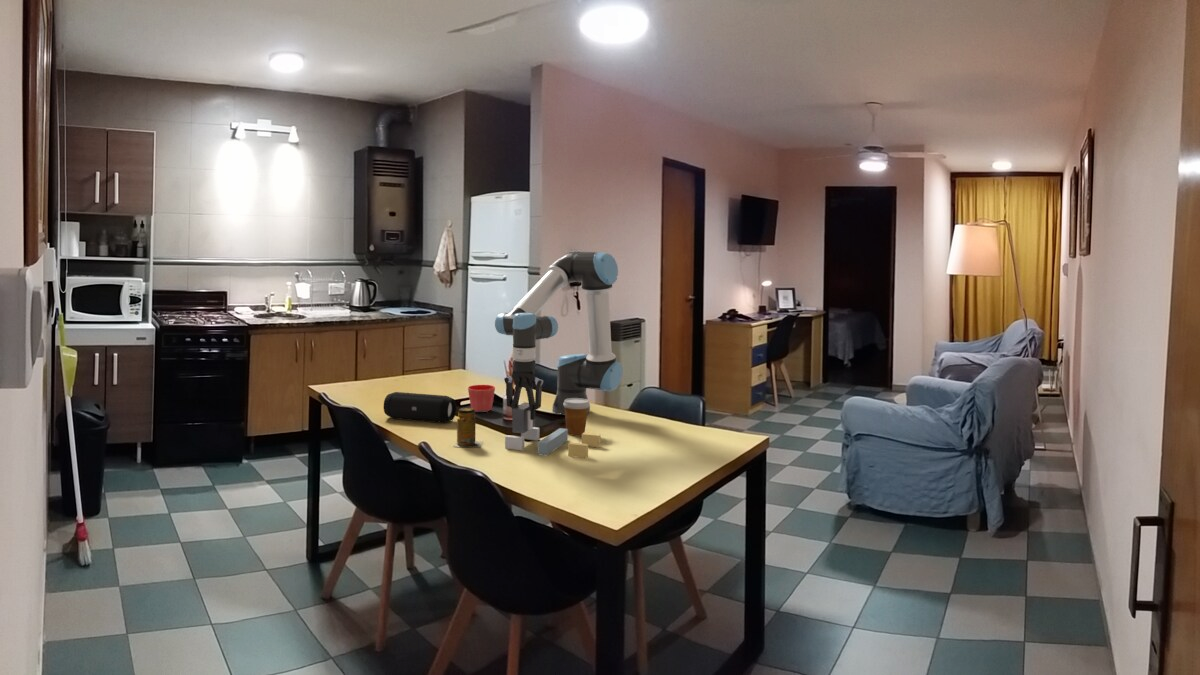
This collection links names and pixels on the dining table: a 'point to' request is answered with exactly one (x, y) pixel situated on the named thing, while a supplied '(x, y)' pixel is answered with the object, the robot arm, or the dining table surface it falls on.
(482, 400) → the flower pot
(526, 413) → the steel block
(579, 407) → the disposable coffee cup
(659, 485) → the dining table surface
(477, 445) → the condiment
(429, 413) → the portable speaker
